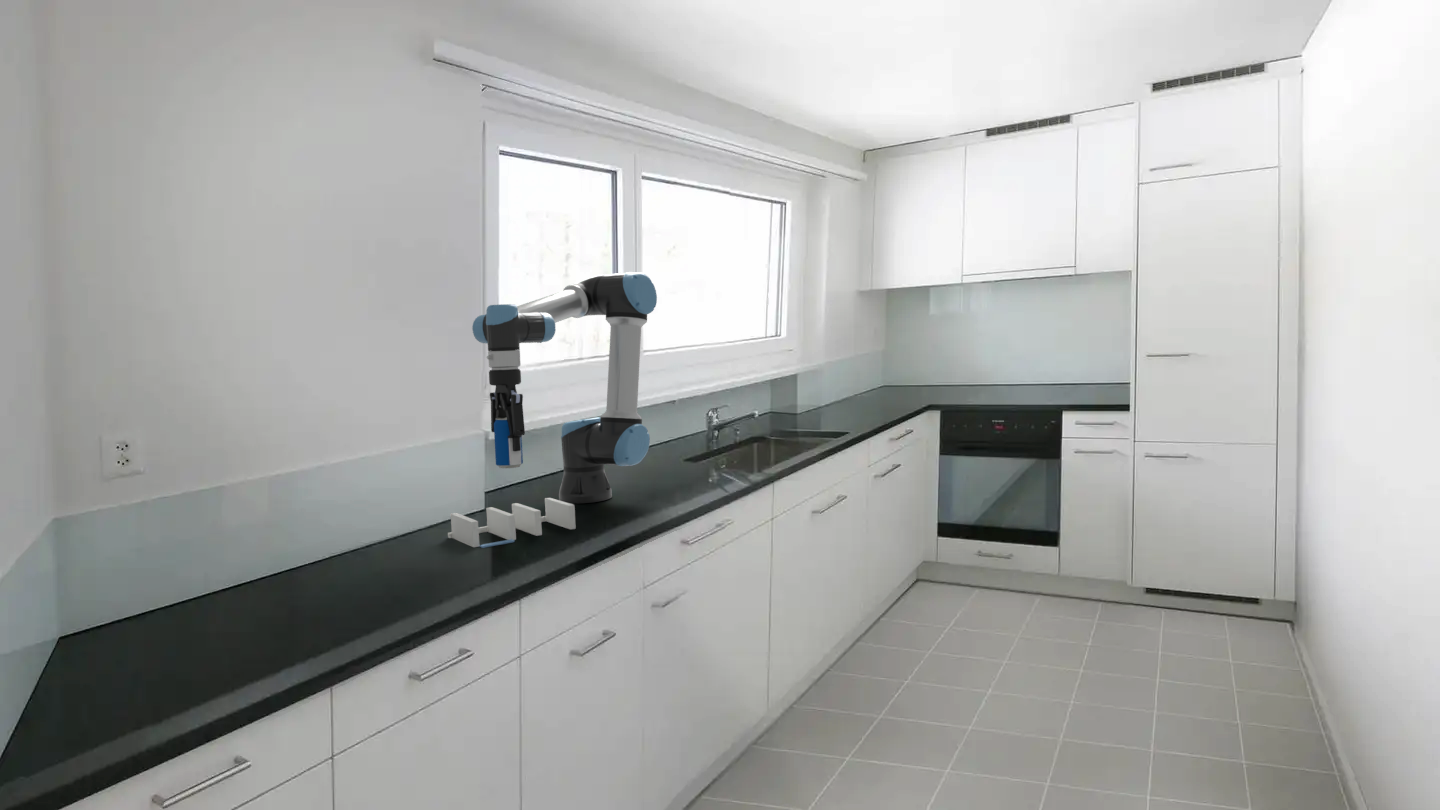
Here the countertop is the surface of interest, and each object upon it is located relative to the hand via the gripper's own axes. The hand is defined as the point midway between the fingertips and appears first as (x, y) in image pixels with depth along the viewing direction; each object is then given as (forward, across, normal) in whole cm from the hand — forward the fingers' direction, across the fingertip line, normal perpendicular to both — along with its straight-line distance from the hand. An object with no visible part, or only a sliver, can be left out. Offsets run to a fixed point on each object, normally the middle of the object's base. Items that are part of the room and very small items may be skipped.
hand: (509, 462), depth 236 cm
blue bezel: (+18, +7, -7) cm, 20 cm away
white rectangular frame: (+18, -2, +1) cm, 18 cm away
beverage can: (+1, 0, 0) cm, 1 cm away
